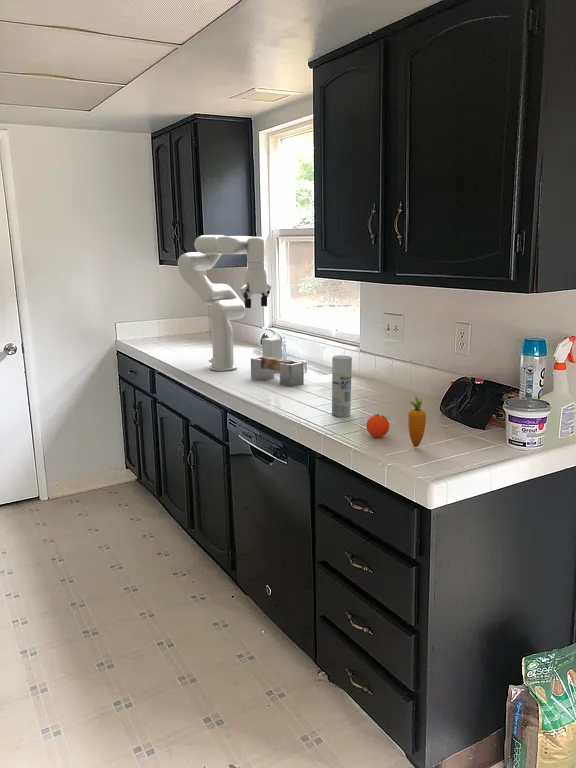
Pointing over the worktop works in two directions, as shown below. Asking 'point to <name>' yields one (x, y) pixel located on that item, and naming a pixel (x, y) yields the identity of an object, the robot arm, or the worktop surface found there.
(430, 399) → the worktop surface
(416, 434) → the carrot
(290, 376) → the brackets
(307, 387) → the worktop surface
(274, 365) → the walnut rail
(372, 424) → the clementine
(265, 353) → the skincare box
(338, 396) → the spray paint can
